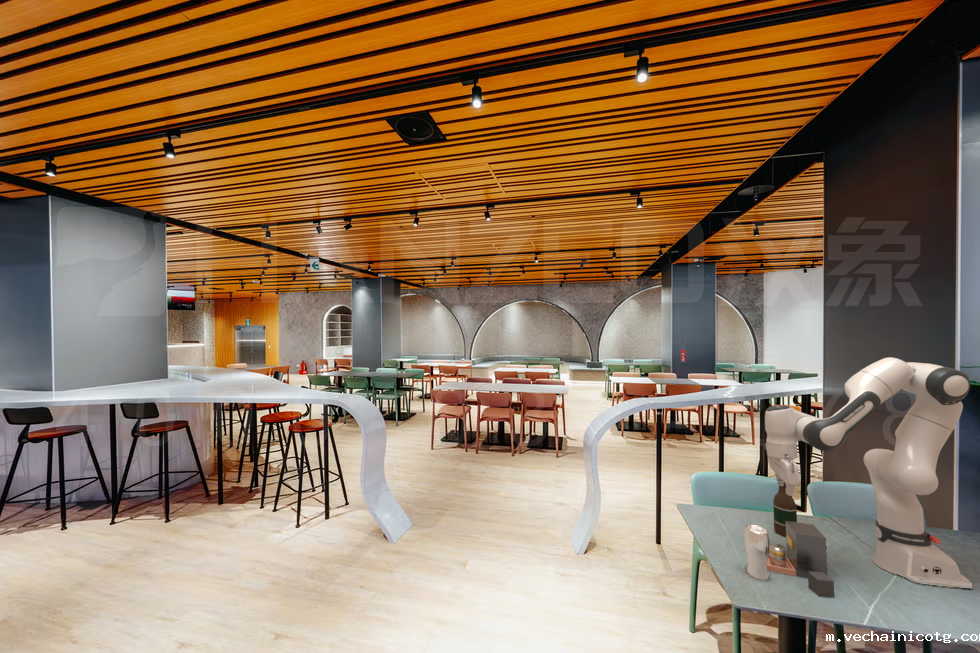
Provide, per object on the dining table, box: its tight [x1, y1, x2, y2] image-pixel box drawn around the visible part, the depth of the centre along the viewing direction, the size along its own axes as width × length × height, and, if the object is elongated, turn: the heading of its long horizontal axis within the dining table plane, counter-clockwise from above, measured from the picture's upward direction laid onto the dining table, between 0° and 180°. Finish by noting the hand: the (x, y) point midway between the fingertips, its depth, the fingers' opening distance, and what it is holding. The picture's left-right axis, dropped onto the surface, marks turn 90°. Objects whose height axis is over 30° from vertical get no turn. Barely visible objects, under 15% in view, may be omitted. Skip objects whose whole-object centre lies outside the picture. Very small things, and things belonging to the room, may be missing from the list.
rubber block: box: [807, 571, 835, 599], centre depth 119 cm, size 4×4×5 cm
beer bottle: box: [772, 482, 798, 538], centre depth 156 cm, size 8×8×24 cm
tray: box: [767, 554, 797, 577], centre depth 132 cm, size 8×8×2 cm
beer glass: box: [743, 524, 771, 581], centre depth 128 cm, size 7×7×15 cm
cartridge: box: [769, 543, 787, 568], centre depth 132 cm, size 5×5×6 cm
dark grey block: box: [785, 521, 828, 579], centre depth 130 cm, size 9×10×14 cm
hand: (785, 489), depth 137 cm, fingers open, 8 cm apart
